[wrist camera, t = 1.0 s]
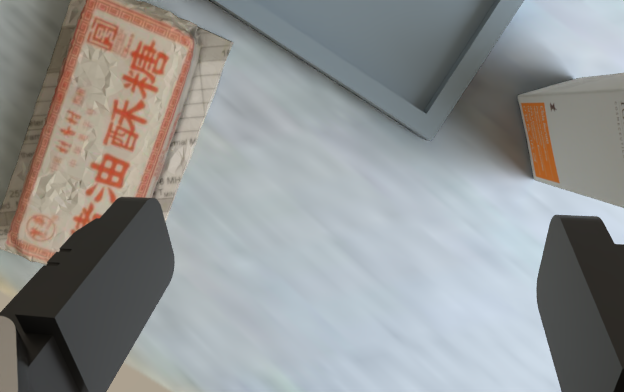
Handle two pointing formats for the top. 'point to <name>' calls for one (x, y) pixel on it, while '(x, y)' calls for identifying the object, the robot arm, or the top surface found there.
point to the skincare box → (578, 135)
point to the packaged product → (109, 120)
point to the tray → (387, 47)
